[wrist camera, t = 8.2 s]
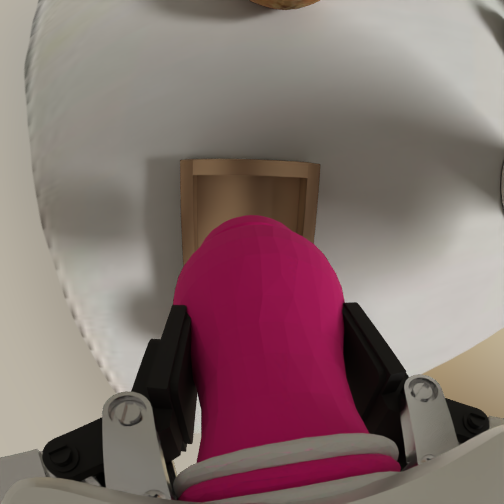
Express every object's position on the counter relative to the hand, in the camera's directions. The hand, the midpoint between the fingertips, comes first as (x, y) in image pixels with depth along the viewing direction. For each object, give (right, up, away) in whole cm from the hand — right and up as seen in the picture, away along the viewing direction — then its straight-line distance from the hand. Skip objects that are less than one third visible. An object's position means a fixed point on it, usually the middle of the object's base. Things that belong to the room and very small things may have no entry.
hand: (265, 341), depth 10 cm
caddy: (-1, +1, +18) cm, 18 cm away
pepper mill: (-1, +2, +6) cm, 7 cm away
